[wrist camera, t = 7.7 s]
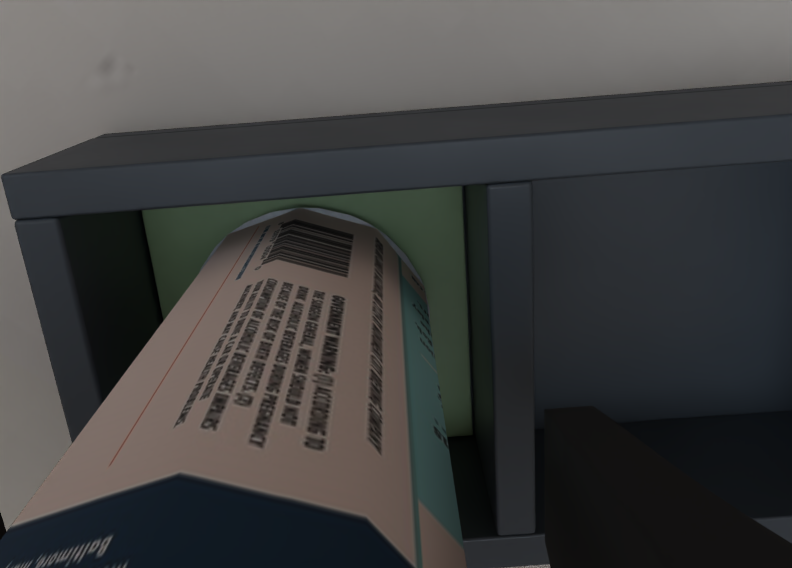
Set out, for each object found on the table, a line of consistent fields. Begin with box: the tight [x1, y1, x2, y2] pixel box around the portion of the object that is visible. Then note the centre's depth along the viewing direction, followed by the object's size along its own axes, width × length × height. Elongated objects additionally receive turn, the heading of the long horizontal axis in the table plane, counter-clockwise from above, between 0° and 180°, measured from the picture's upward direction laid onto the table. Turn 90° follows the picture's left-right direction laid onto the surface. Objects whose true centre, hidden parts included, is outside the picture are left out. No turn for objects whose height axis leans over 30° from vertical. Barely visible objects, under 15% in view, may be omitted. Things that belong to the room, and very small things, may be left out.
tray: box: [1, 81, 792, 568], centre depth 14 cm, size 8×15×4 cm, turn 94°
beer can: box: [0, 208, 467, 568], centre depth 9 cm, size 5×5×12 cm
